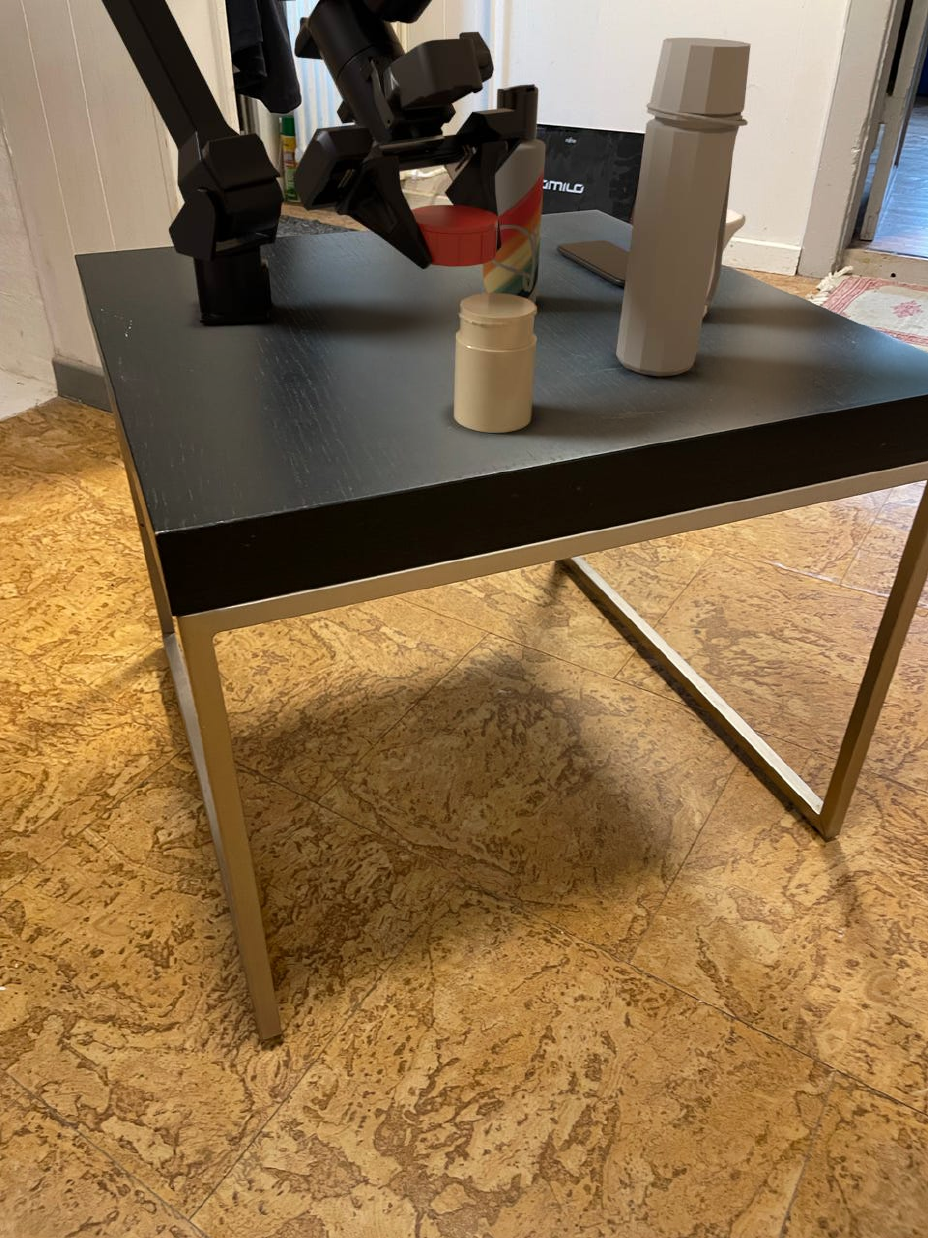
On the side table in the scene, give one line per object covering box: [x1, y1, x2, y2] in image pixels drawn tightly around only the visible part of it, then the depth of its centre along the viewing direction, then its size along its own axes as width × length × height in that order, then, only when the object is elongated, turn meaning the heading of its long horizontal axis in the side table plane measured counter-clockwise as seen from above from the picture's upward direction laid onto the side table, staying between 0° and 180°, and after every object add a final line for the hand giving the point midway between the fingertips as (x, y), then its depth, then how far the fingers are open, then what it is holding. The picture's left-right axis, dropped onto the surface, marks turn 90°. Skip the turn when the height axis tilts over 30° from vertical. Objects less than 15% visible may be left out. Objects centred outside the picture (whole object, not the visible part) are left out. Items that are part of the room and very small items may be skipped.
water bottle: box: [615, 37, 752, 377], centre depth 78 cm, size 9×8×25 cm
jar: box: [453, 293, 538, 434], centre depth 72 cm, size 6×6×9 cm
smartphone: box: [555, 239, 630, 288], centre depth 108 cm, size 7×1×15 cm
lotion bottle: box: [481, 83, 546, 305], centre depth 91 cm, size 6×6×20 cm
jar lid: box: [411, 204, 498, 268], centre depth 70 cm, size 7×7×3 cm
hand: (463, 257), depth 70 cm, fingers closed on jar lid, 6 cm apart
